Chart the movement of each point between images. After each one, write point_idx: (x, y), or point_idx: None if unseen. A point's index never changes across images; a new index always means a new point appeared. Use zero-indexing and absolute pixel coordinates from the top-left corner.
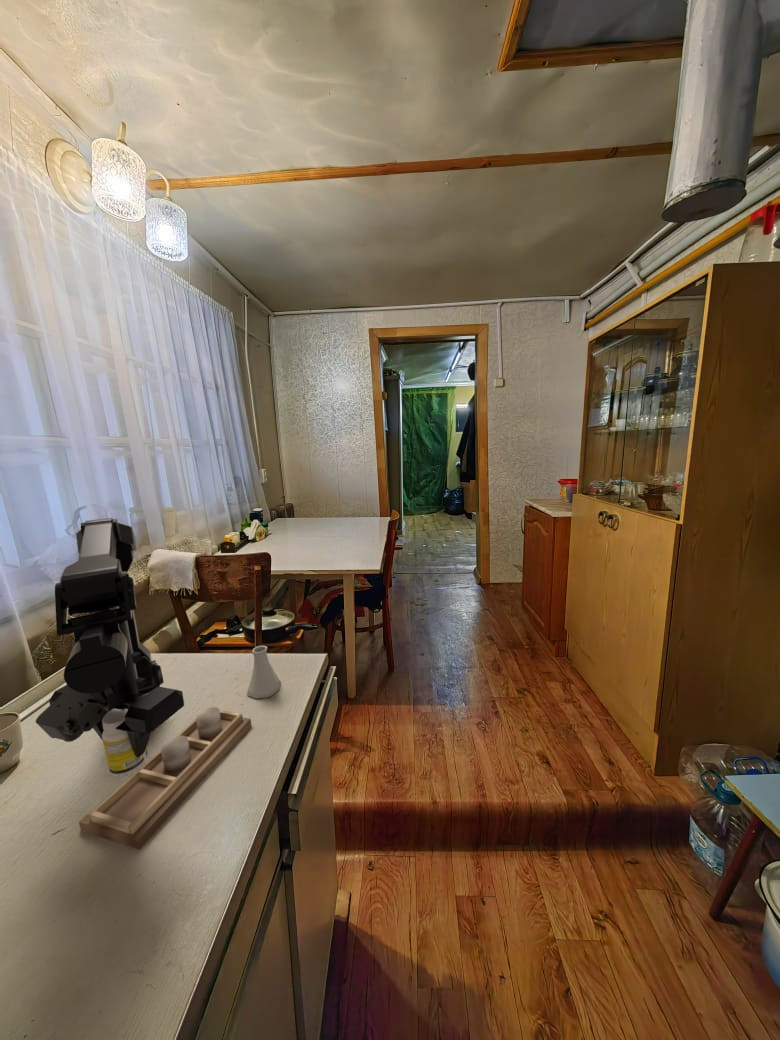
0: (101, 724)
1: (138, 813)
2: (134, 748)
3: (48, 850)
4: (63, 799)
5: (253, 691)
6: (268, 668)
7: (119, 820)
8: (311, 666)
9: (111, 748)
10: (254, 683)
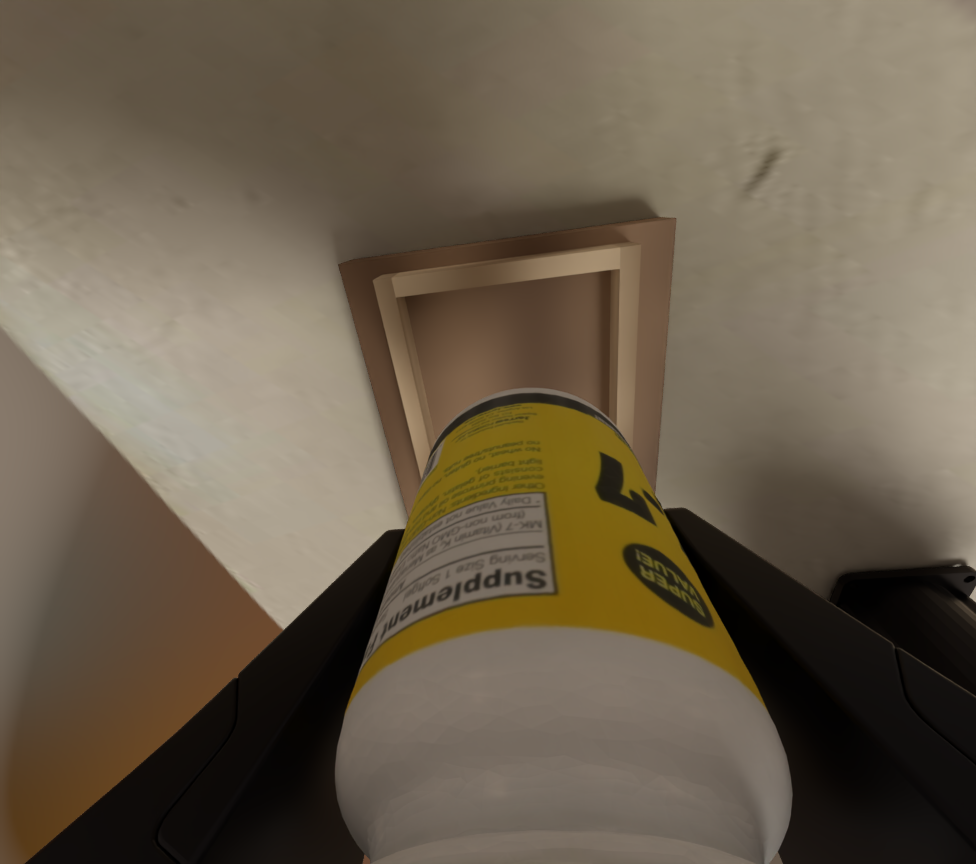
0: (921, 843)
1: (458, 344)
2: (339, 595)
3: (718, 92)
4: (891, 279)
5: None
6: None
7: (456, 281)
8: None
9: (470, 550)
10: None
